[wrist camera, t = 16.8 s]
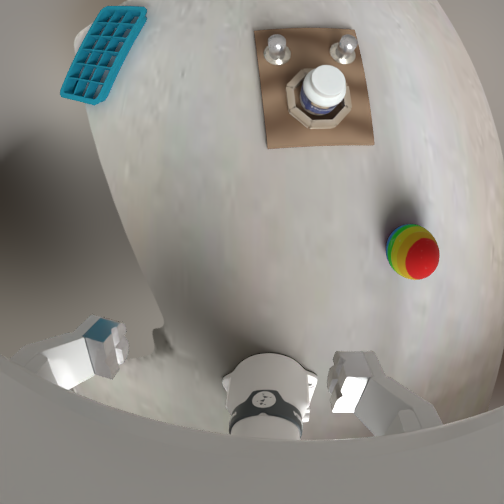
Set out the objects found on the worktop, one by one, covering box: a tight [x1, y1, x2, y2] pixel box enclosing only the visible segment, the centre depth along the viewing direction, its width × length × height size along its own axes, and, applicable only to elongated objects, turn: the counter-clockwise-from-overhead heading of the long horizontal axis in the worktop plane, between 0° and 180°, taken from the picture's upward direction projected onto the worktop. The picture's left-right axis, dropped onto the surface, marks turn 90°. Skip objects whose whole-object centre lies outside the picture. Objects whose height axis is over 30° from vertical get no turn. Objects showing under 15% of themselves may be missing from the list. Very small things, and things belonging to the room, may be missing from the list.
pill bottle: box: [300, 65, 346, 116], centre depth 31 cm, size 5×5×10 cm
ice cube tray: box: [60, 6, 147, 105], centre depth 35 cm, size 12×20×3 cm, turn 156°
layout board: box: [254, 28, 374, 149], centre depth 34 cm, size 20×16×3 cm
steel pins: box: [264, 34, 358, 66], centre depth 31 cm, size 4×14×5 cm, turn 96°
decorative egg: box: [386, 224, 439, 280], centre depth 37 cm, size 8×8×10 cm
